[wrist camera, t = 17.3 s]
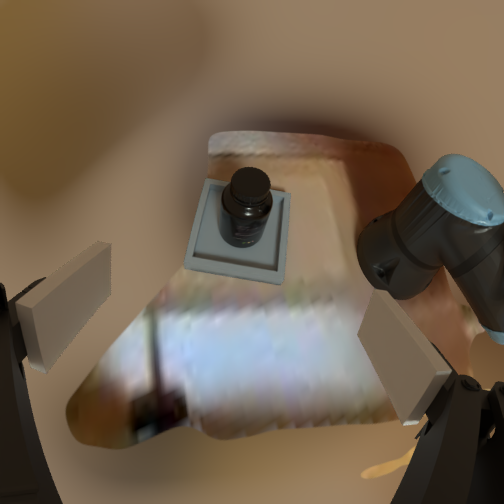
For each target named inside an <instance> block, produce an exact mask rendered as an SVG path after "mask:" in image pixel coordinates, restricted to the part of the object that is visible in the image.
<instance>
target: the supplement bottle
mask: <svg viewBox="0 0 504 504" xmlns="http://www.w3.org/2000/svg"><path fill="white" fill-rule="evenodd" d="M270 186H271V184H270V180H269V177H268V175H266V173H264V172H263V171H262V170H260V169H257V168H253V167H244V168H241V169H239V170H238V171H236V172H235V173H234V174H233V176H232V179H231V182H230V183H229V184H227V185H226V187H225V188H224V190H223V192H222V196H221V204H220V216H219V232H220V235H221V237H222V238H223V240H224V241H225V242H226V243H227V244H229V245H231V246H233V247H236V248H248V247H251V246H253V245H255V244H256V243H257V242H258V241H259V240H260V239H261V237H262V235H263V233H264V230H265V227H266V224H267V221H268V218H269V216H270V213H271V210H272V206H273V197H272V194H271V191H270Z"/></svg>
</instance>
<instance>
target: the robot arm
mask: <svg viewBox="0 0 504 504" xmlns="http://www.w3.org/2000/svg"><path fill="white" fill-rule="evenodd" d="M503 191H504V190H503V188H502V187H501V185H500V184H499V182H498V181H497V180H496V179H495V178H494V176H493V175H492V174H491V173H490V172H489V171H488V170H487V169H485V168H484V167H483V166H482V165H480V164H479V163H477V162H476V161H474V160H472V159H470V158H467V157H465V156H463V155H459V154H448V155H444V156H443V157H441V158H440V159H439V160H438V161H437V162H436V163H435V164H434V165H433V166H432V167H431V168H430V169H428V170H427V171H426V172H425V173H424V174H423V177H422V179H421V180H420V181H419V182H418V183H417V185H416V186H415V187H414V188H413V189H412V191H411V192H410V193H409V194H408V195H407V196H406V198H405V199H404V200H403V201H402V202H401V203H400V205H399V206H398V207H397V208H396V209H395V210H393V211H390V212H388V213H386V214H384V215H381V216H379V217H377V218H375V219H373V220H372V221H371V222H370V223H369V224H368V225H367V226H366V227H365V229H364V230H363V231H362V233H361V234H360V237H359V240H358V245H357V253H358V259H359V263H360V266H361V269H362V271H363V273H364V275H365V276H366V278H367V279H368V281H369V282H370V283H371V284H372V285H373V286H374V287H375V288H376V289H374V291H373V294H372V297H371V300H370V302H369V305H368V308H367V310H366V313H365V316H364V318H363V321H362V324H361V326H360V329H359V331H358V334H357V335H358V337H359V339H360V341H361V343H362V345H363V347H364V349H365V351H366V353H367V354H368V356H369V358H370V360H371V362H372V364H373V366H374V368H375V370H376V372H377V374H378V376H379V378H380V380H381V382H382V384H383V386H384V388H385V390H386V392H387V394H388V396H389V398H390V400H391V403H392V405H393V407H394V409H395V411H396V413H397V415H398V417H399V419H400V421H401V424H402V425H412V424H418V422H419V421H420V420H421V418H422V417H423V415H424V414H425V413H426V415H427V417H428V419H429V420H428V421H427V422H426V424H425V425H424V426H423V428H422V429H421V431H420V432H419V433H418V434H417V436H416V437H415V439H417V438H418V437H419V436H420V438H419V441H418V443H417V446H416V448H415V451H414V453H413V456H412V458H411V461H410V463H409V465H408V468H407V470H406V472H405V475H404V477H403V479H402V481H401V483H400V485H399V487H398V489H397V491H396V493H395V495H394V497H393V499H392V501H391V503H390V504H504V382H499V381H498V382H496V383H495V385H494V386H493V387H492V389H491V390H490V391H487V390H482V388H481V386H480V384H479V383H478V382H477V381H476V380H475V379H474V378H472V377H470V376H467V375H458V374H457V372H456V371H455V370H454V369H453V367H452V366H451V365H450V363H449V362H448V361H447V360H446V359H445V357H444V356H443V354H441V352H440V351H439V349H438V348H437V347H436V346H435V345H434V344H433V343H431V342H430V341H429V340H428V339H427V338H426V337H425V336H424V334H423V333H422V332H421V331H420V329H419V328H418V327H417V326H416V325H415V323H414V322H413V321H412V320H411V319H410V317H409V316H408V315H407V314H406V313H405V311H404V310H403V309H402V308H401V307H400V306H399V304H398V303H397V302H396V301H395V300H394V299H398V300H406V299H410V298H412V297H414V296H416V295H418V294H419V293H421V292H423V291H424V290H425V289H426V288H427V287H428V285H429V284H430V282H431V281H432V278H433V276H434V275H435V274H436V273H437V271H438V270H439V268H440V267H442V266H443V265H444V266H445V268H446V269H447V270H448V272H449V273H450V275H451V276H452V278H453V279H454V281H455V282H456V284H457V285H458V287H459V288H460V290H461V291H462V293H463V295H464V296H465V298H466V300H467V301H468V303H469V304H470V306H471V308H472V309H473V311H474V313H475V314H476V316H477V318H478V321H479V323H480V324H481V326H482V327H483V328H484V329H485V330H486V331H487V333H488V335H489V336H490V338H491V339H492V340H493V341H495V342H497V343H499V344H503V345H504V193H503ZM110 295H111V244H110V243H105V242H99V241H97V242H96V243H95V244H93V245H92V246H90V247H89V248H87V249H86V250H84V251H83V252H82V253H80V254H79V255H77V256H76V257H75V258H73V259H72V260H70V261H69V262H67V263H66V264H65V265H63V266H62V267H61V268H59V269H58V270H56V271H55V272H54V273H52V274H51V275H50V276H48V277H47V278H46V277H44V278H42V279H39V280H37V281H34V282H33V283H32V284H30V285H29V286H28V288H27V287H26V288H25V289H24V290H22V292H20V293H18V294H17V295H16V296H15V297H13V298H12V299H11V300H10V301H8V302H7V297H6V291H5V287H4V285H3V284H2V283H0V504H63V503H62V501H61V498H60V496H59V494H58V491H57V489H56V486H55V484H54V481H53V479H52V476H51V473H50V470H49V468H48V465H47V462H46V459H45V456H44V453H43V449H42V446H41V443H40V440H39V436H38V432H37V429H36V425H35V421H34V417H33V413H32V408H31V404H30V399H29V394H28V389H27V384H26V378H25V372H24V367H23V364H22V360H23V359H24V358H25V357H26V356H27V357H28V360H29V363H30V367H31V368H33V369H35V370H38V371H40V372H43V373H45V374H47V373H48V371H49V370H50V369H51V367H52V366H53V365H54V363H55V362H56V361H57V359H58V358H59V357H60V356H61V354H62V353H63V352H64V350H65V349H66V348H67V346H68V345H69V344H70V343H71V342H72V340H73V339H74V338H75V337H76V335H77V334H78V332H80V330H81V329H82V328H83V327H84V325H85V324H86V323H87V322H88V320H89V319H90V318H91V317H92V316H93V315H94V313H95V312H96V311H97V310H98V308H100V306H101V305H102V304H103V303H104V302H105V301H106V299H107V298H108V297H109V296H110ZM494 428H495V433H494V434H493V436H492V438H490V433H491V432H492V430H493V429H494Z"/></svg>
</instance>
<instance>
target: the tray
mask: <svg viewBox="0 0 504 504" xmlns="http://www.w3.org/2000/svg"><path fill="white" fill-rule="evenodd" d="M229 183H230V182H227V181H221V180H215V179H209V178H206V179H205V182H204V185H203V189H202V193H201V196H200V200H199V204H198V208H197V211H196V215H195V219H194V223H193V226H192V230H191V234H190V238H189V243H188V247H187V250H186V255H185V259H184V267H185V269H189V270H194V271H200V272H205V273H211V274H217V275H222V276H228V277H234V278H240V279H246V280H252V281H258V282H264V283H270V284H276V285H281V283H282V282H283V280H284V274H285V262H286V251H287V238H288V226H289V213H290V199H291V193H286V192H281V191H276V190H271V189H270V191H271V194H272V197H273V206H272V210H271V213H270V216H269V218H268V221H267V224H266V227H265V230H264V233H263V235H262V237H261V239H260V240H259V241H258V242H257V243H256V244H255V245H253V246H251V247H248V248H236V247H233V246H231V245H229V244H227V243H226V242H225V241H224V240H223V238H222V237H221V235H220V232H219V216H220V204H221V196H222V192H223V190H224V188H225V187H226V185H227V184H229Z"/></svg>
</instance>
